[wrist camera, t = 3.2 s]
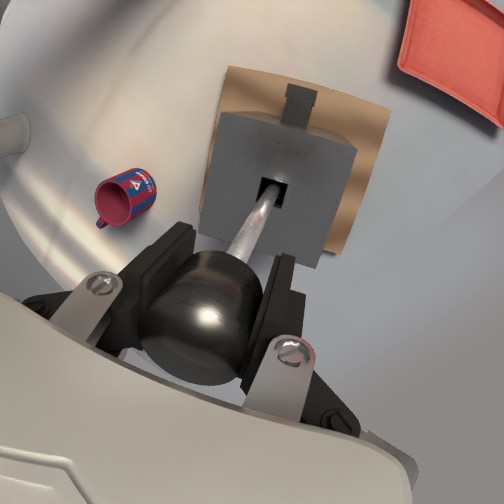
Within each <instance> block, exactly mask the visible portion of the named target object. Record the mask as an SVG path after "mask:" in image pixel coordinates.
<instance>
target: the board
mask: <svg viewBox="0 0 504 504" xmlns="http://www.w3.org/2000/svg"><path fill="white" fill-rule="evenodd" d="M288 83H290V84H294V85H298V86H302V87H306V88H309V89H313V90H316V91H318V93H317V99H316V103H315V107H312V111H311V114H310V118H309V122H308V124H309V125H313V126H316V127H319V128H323V129H326V130H329V131H332V132H335V133H338V134H341V135H342V136H343V137H344V138H346V139H347V140H348V141H349V142H350V143H351V144H352V145H353V146H355V147H356V148H357V149H358V151H357V154H356V157H355V160H354V163H353V166H352V169H351V172H350V175H349V178H348V181H347V184H346V187H345V190H344V193H343V196H342V199H341V202H340V204H339V207H338V210H337V213H336V216H335V218H334V221H333V224H332V227H331V229H330V232H329V235H328V238H327V240H326V243H325V245H324V248H323V250H326V251H329V252H333V253H336V254H339V255H341V253H342V250H343V248H344V245H345V243H346V240H347V238H348V235H349V233H350V230H351V228H352V225H353V223H354V220H355V217H356V215H357V212H358V209H359V207H360V204H361V201H362V199H363V196H364V193H365V190H366V188H367V185H368V182H369V179H370V176H371V173H372V170H373V167H374V164H375V162H376V158H377V155H378V152H379V149H380V146H381V143H382V140H383V137H384V133H385V130H386V127H387V123H388V120H389V117H390V113H391V110H389V109H386V108H384V107H381V106H379V105H376V104H373V103H371V102H368V101H365V100H363V99H360V98H357V97H354V96H351V95H348V94H345V93H342V92H339V91H336V90H333V89H329V88H326V87H323V86H319V85H316V84H312V83H309V82H305V81H301V80H297V79H293V78H289V77H285V76H281V75H276V74H271V73H267V72H262V71H257V70H251V69H246V68H240V67H234V66H228V69H227V73H226V77H225V82H224V86H223V90H222V95H221V99H220V104H219V108H218V113H217V117H216V122H215V127H214V132H213V137H212V142H211V147H210V152H209V157H208V163H207V168H206V173H205V179H204V185H203V190H202V196H201V202H200V208H199V212H200V213H202V207H203V201H204V195H205V189H206V184H207V178H208V173H209V167H210V162H211V157H212V152H213V147H214V142H215V137H216V132H217V127H218V122H219V118H220V113H221V112H232V111H260V112H264V113H268V114H273V115H277V116H280V117H282V114H283V110H284V106H285V102H286V99H287V98H286V97H285V93H286V89H287V85H288Z"/></svg>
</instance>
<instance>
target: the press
mask: <svg viewBox="0 0 504 504" xmlns="http://www.w3.org/2000/svg"><path fill="white" fill-rule="evenodd" d="M317 93H318V91H316V90H313V89H309V88H306V87H302V86H298V85H294V84H290V83H288V85H287V89H286V93H285V97H286V98H287V99H286V102H285V106H284V110H283V114H282V117H280V116H277V115H273V114H268V113H264V112H260V111H232V112H221V113H220V118H219V122H218V127H217V132H216V137H215V142H214V147H213V152H212V157H211V162H210V167H209V173H208V178H207V184H206V189H205V195H204V201H203V207H202V213H201V219H200V225H199V231H198V233H200V234H203V235H206V236H210V237H213V238H216V239H219V240H223V241H226V242H229V243H232V242H233V240H234V238H235V237H236V235H237V234H238V232H239V231H240V229H241V227H242V226H243V224H244V223H245V221H246V219H247V218H248V216H249V215H250V213H251V212H252V210H253V208H254V207H255V205H256V204H257V202H258V201H259V199H258V194H259V190H260V186H261V182H262V178H263V177H265V178H269V179H272V180H276V181H279V182H282V183H286V184H288V187H287V190H286V194H285V197H284V201H283V204H282V206H281V205H278V204H275V203H274V205H273V207H272V209H271V212H270V214H269V216H268V218H267V220H266V223H265V225H264V227H263V229H262V231H261V233H260V236H259V238H258V240H257V242H256V244H255V246H254V249H253V250H255V251H259V252H262V253H265V254H268V255H272V256H276V255H279V256H281V255H282V253H285V254H288V255H292V256H295V257H296V258H295V263H298V264H301V265H304V266H307V267H311V268H314V269H316V266H317V264H318V261H319V258H320V256H321V253H322V251H323V248H324V245H325V243H326V240H327V238H328V235H329V232H330V229H331V227H332V224H333V221H334V218H335V216H336V213H337V210H338V207H339V204H340V202H341V199H342V196H343V193H344V190H345V187H346V184H347V181H348V178H349V175H350V172H351V169H352V166H353V163H354V160H355V157H356V154H357V151H358V149H357V148H356V147H355V146H353V145H352V144H351V143H350V142H349V141H348V140H347V139H346V138H344V137H343V136H342V135H341V134H338V133H335V132H332V131H329V130H326V129H323V128H319V127H316V126H313V125H309V124H308V122H309V118H310V114H311V111H312V107H315V103H316V99H317Z"/></svg>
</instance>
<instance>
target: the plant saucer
mask: <svg viewBox="0 0 504 504" xmlns="http://www.w3.org/2000/svg"><path fill="white" fill-rule="evenodd" d="M397 66H398V68H399V69H400V70H401V71H403V72H405V73H407V74H409V75H411V76H413V77H416V78H418V79H420V80H422V81H424V82H426V83H428V84H430V85H432V86H434V87H436V88H437V89H439V90H441V91H443V92H445V93H447V94H449V95H450V96H452V97H454V98H456V99H457V100H459V101H460V102H462V103H464V104H465V105H467V106H469V107H470V108H472V109H473V110H475V111H477V112H478V113H480V114H481V115H483V116H484V117H486V118H487V119H489V120H490V121H491V122H493V123H494V124H496V125H497V126H498V127H500V128H501V129H502V130H504V12H502V11H501V10H500V9H498V8H497V7H496V6H494V5H493V4H491V3H490V2H488V1H487V0H410V6H409V12H408V17H407V22H406V27H405V32H404V36H403V41H402V45H401V49H400V53H399V57H398V61H397Z"/></svg>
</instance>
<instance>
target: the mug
mask: <svg viewBox="0 0 504 504" xmlns="http://www.w3.org/2000/svg"><path fill="white" fill-rule="evenodd" d="M155 199H156V185H155V182H154V180H153V178H152V177H151V176H150V174H148V173H147V172H146V171H145V170H142V169H139V168H134V169H130V170H128V171H125V172H123V173H121V174H118V175H116V176H114V177H111V178H109V179H107V180H105V181H102V182H101V183H100V184H99V185H98V187H97V189H96V192H95V205H96V209H97V211H98V213H99V215H100V216H101V217H100V218H99V219H98V221H97V223H96V225H97V227H98V228H99V229H101V228H104V227H105V226H107V225H108V224H110V225H112V226H122V225H124V224H126V223H127V222H129V221H130V220H132V219H133V218H135V217H136V216H138V215H139V214H140V213H142V212H143V211H145V210H146V209H148V208H149V207H150V206H152V204H153V203H154V201H155Z"/></svg>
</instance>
